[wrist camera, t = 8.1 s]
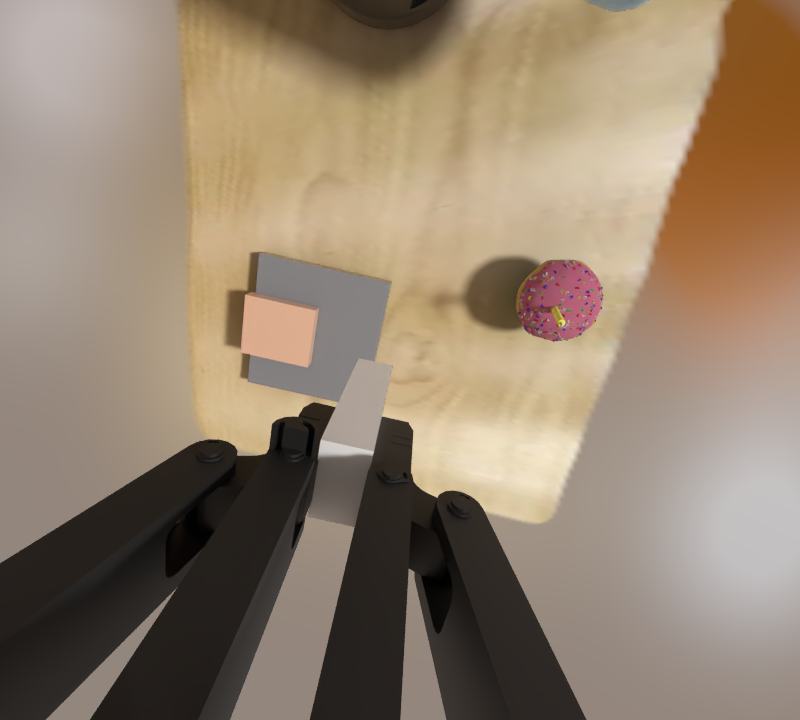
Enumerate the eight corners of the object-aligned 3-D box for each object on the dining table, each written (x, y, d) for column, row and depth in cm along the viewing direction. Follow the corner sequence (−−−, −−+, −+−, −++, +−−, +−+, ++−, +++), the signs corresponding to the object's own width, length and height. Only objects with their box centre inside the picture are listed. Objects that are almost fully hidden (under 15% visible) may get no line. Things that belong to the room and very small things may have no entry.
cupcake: (518, 338, 47) (546, 377, 36) (499, 269, 45) (524, 288, 34) (592, 315, 46) (645, 349, 35) (577, 243, 43) (630, 254, 32)
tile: (319, 307, 46) (251, 291, 46) (315, 310, 44) (245, 294, 44) (311, 362, 49) (246, 347, 48) (307, 367, 47) (240, 352, 47)
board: (264, 252, 46) (259, 253, 44) (391, 281, 46) (390, 283, 45) (252, 377, 51) (247, 381, 50) (366, 402, 52) (364, 407, 50)
